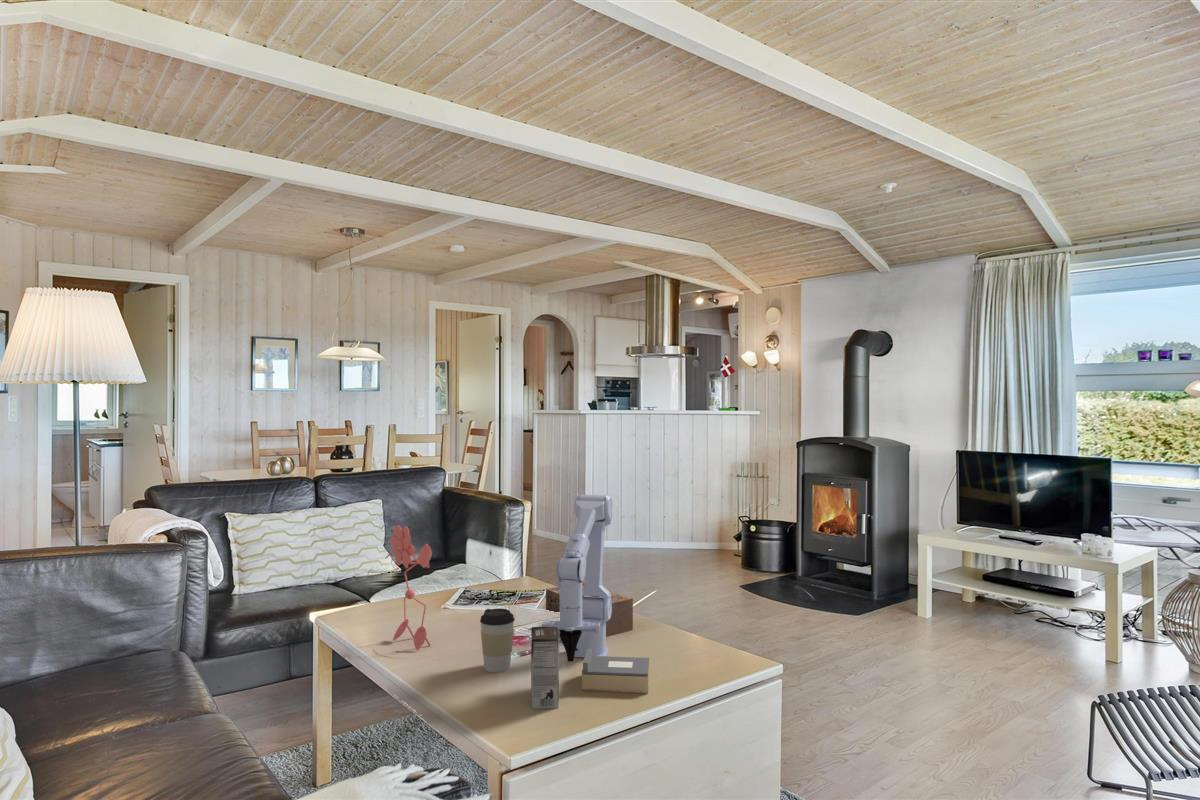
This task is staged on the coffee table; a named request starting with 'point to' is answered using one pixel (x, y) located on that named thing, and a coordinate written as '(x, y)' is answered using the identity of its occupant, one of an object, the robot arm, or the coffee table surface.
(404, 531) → the figurine
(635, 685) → the mailer box
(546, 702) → the coffee box
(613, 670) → the lid
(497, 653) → the coffee cup
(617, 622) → the tissue box cover
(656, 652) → the coffee table surface
